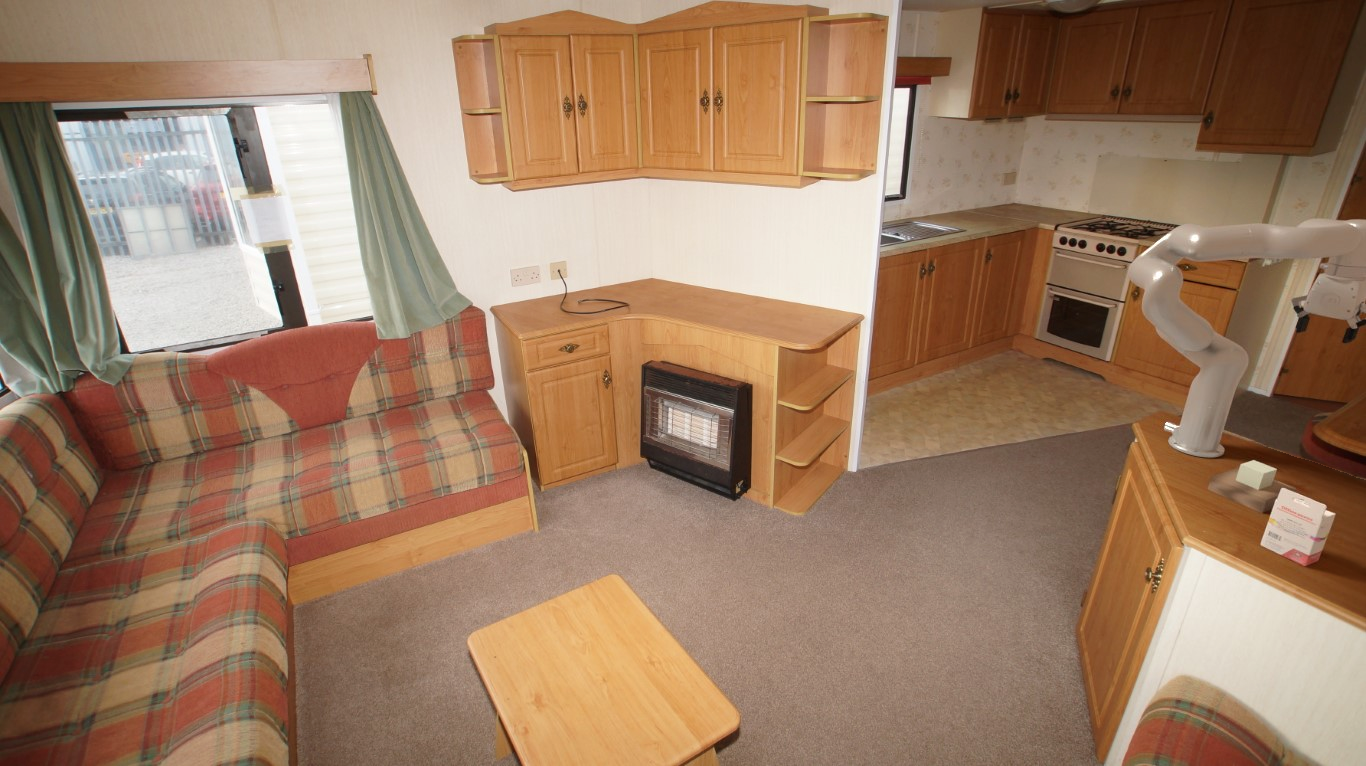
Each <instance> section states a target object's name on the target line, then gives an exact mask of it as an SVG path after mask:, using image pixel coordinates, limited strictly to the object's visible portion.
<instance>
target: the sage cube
mask: <svg viewBox="0 0 1366 766" xmlns="http://www.w3.org/2000/svg"><path fill="white" fill-rule="evenodd" d="M1239 467H1240V468H1239V471H1238V474H1237V477H1236V481H1238V482H1241V483H1243V484H1246V485H1248V486H1250V487H1253V488H1255V489H1257V490H1260V489H1262V488H1265V487H1268V486H1271V485H1272V482H1273V480H1275V477H1276V474H1277V470H1278V469H1277V468H1275V467H1273V466H1271V465H1267V464H1265V463H1263V462H1260V461H1257V460H1255V459H1253V460H1250V461H1246V462H1243V463H1241V464H1240V465H1239Z"/></svg>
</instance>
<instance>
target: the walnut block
mask: <svg viewBox="0 0 1366 766" xmlns="http://www.w3.org/2000/svg"><path fill="white" fill-rule="evenodd" d="M1239 468H1240V466H1238V467H1236V468H1232V469H1229V470H1227V471H1223V472H1222V473H1218V474H1216V475H1213V476H1210V479H1209V484H1208V486H1207V490H1208V491H1211V492H1213V493H1215V494H1217V495H1220V496H1222V497H1224V498H1225V499H1229V500H1231V501H1233V502H1235V503H1237V504H1240V505H1242V506H1245V507H1246V508H1248V509H1252V510H1253V511H1256V512H1258V513H1261V514H1264V513H1266V512H1269V511H1272V509H1273V506H1274V503H1275V500H1276V499H1277V498H1278V496H1279V493H1280V490H1281V489H1282V488H1285V489H1288V490H1290V491H1292V492H1295V493H1297V492H1296V491H1297V488H1296V487H1294V486H1291V485H1289V484H1286V483H1284V482H1282V481H1278V480H1276V479H1274V480H1273V482H1272V485H1271V486H1268V487H1265V488H1262V489H1260V490H1257V489H1255V488H1253V487H1250V486H1248V485H1246V484H1243V483H1241V482H1238V481H1236V477H1237V474H1238V471H1239Z"/></svg>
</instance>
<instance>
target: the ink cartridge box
mask: <svg viewBox="0 0 1366 766" xmlns="http://www.w3.org/2000/svg"><path fill="white" fill-rule="evenodd" d="M1335 517H1336V513H1335V512H1332V511H1329V510H1327V505H1326V504H1324V503H1321V502H1319V501H1316V500H1314V499H1312V498H1310V497H1308V496H1305V495H1302V494H1300V493H1298V492H1292V491H1290V490H1288V489H1285V488H1282V489H1281V490H1280V493H1279V496H1278V498H1277V499H1276V500H1275V503H1274V506H1273V509H1271V512H1270V516H1269V519H1268V521H1267V524H1266V526H1265V527H1266V528H1265V530H1264V532H1263V536H1262V538H1261V541H1260V546H1261V547H1263V548H1266V549H1268V550H1269V551H1271V552H1273V553H1275V554H1278V555H1279V556H1282V557H1284V558H1286V559H1288V560H1290V561H1292V562H1295V563H1296V564H1298V565H1301V566H1303V567H1308V566H1310V565H1311V564H1314V563H1316V562H1318V561H1319V560H1320V557H1321V554H1322V553H1323V549H1324V547H1325V544H1326V542H1327V538H1328V536H1329V534H1330V532H1331V528H1332V526H1333V523H1334V521H1335Z"/></svg>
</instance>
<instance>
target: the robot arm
mask: <svg viewBox="0 0 1366 766" xmlns="http://www.w3.org/2000/svg"><path fill="white" fill-rule="evenodd" d="M1323 258H1325V259H1326V258H1328V261H1327V262H1325V263H1324V262H1321V263H1320V264H1319V269H1322V270H1323V273H1319V274H1318V276H1317V277H1316V278H1315V281H1314V283H1313V284H1312V286H1311V287H1310V290H1309V292H1308V294H1306V295H1302V296H1301V295H1300V296H1298V297H1293V298H1292V299H1291V303H1292V306H1293V311H1294V312H1295V313H1296V315H1297V318H1298V319H1297V322H1296V325H1295V329H1296V330H1295V332H1296V333H1297V334H1300V333H1304V332H1306V331H1307V329H1308V325H1309V324H1310V323H1309V322H1310V319H1311V316H1310V315H1312V314H1313V315H1318V316H1322V317H1327V318H1333V319H1337V320H1343V321H1347V322H1346V323H1348V325H1349V327H1347V328H1346V329H1345V332H1344V335H1343V338H1342V340H1341V343H1343V344H1349V343H1351V342H1353V341H1355V340H1356V338H1357V335H1358V332H1359V330H1360V328H1362V327H1364V326H1366V317H1365V318H1364V319H1360V316H1361V315H1362V313H1364V314H1366V219H1361V218H1358V219H1348V220H1342V219H1341V220H1340V219H1331V218H1322V217H1321V218H1319V217H1318V218H1317V217H1316V218H1315V217H1314V218H1311V219H1307V220H1305V221H1303V222H1300V223H1299V224H1298V225H1297V226H1286V225H1285V226H1284V225H1278V224H1272V223H1271V224H1270V223H1257V222H1256V223H1246V224H1245V223H1243V224H1242V223H1241V224H1233V225H1220V226H1202V225H1200V224H1196V223H1184V224H1181V225H1178V226H1177V227H1175V228H1174V229H1172V230H1170V231H1169V232H1168V233H1166V234H1165V235H1163V236H1162V237H1161V238H1160V239H1158V240H1157V241H1156V242H1155V243H1154V244H1152V245H1150V246H1149V247H1148V248H1147V249H1145V251H1142V253H1141V254H1140V255H1138V256H1136V258H1135V259H1134V260H1133V261H1132V262H1131V263H1130V265H1129V267H1128V270H1127V275H1128V279H1129V280H1130V282H1132V284H1134V285H1135V286H1137V287H1139V288H1141V289H1142V290H1144V292H1143V296H1142V299H1141V311H1142V314H1143V316H1144V317H1145V319H1146V320H1147V321H1149V322H1150V323H1151V325H1153V326H1154V327H1155V332H1156V333H1157V334H1158V336H1159V337H1160V338H1161V339H1162V340H1163V341H1165V342H1166V343H1167V344H1168V345H1170V347H1172V348H1173V349H1175V350H1176V351H1177V352H1178V353H1179V354H1181V355H1182V356H1183V357H1185V358H1186V359H1188V360H1189V361H1190V362H1192V363H1193V364H1195V365H1196V366H1197V367H1199V368H1200V369H1199V370H1200V371H1199V372H1198V373H1197V374H1196V376H1195V377H1194V379H1193V380H1192V382H1191V385H1190V387H1189V391H1188V394H1187V397H1186V401H1185V404H1184V409H1183V413H1182V416H1181V420H1180V423H1179V424H1176V423H1174V422H1171V421H1166V423H1165V424H1164V428H1163V429H1164V431H1165V432H1169V433H1171V435H1170V436H1169V438H1168V444H1169V446H1170V447H1172V448H1173V449H1174V450H1177V451H1179V452H1182V453H1184V454H1187V455H1191V456H1194V457H1195V456H1196V457H1200V458H1218V457H1221V456H1223V455H1224V454H1225V447H1224V446H1223V445H1222V444H1221V443H1220V441H1221V439H1222V435H1223V432H1224V429H1225V425H1226V422H1227V419H1228V416H1229V413H1230V410H1231V406H1232V404H1233V399H1234V396H1235V393H1236V390H1237V387H1238V386H1239V385H1238V384H1239V383H1240V380H1241V379H1242V378H1243V376H1244V374H1245V372H1246V370H1247V369H1248V365H1249V362H1250V361H1249V355H1248V353H1247V351H1246V350H1245V348H1243V347H1242V346H1241V345H1239V344H1238V343H1236V342H1235V341H1232V340H1231V339H1229V338H1227V337H1225V336H1223V335H1222V334H1219V333H1218V332H1216V331H1215V330H1214V328H1213V327H1212V324H1211V323H1210V322H1209V321H1208V320H1207V319H1205V318H1204V317H1202V316H1201V315H1200V314H1198V313H1196V312H1195V311H1194V310H1193V309H1191V308H1190V307H1189V306H1188V305H1187V304H1186V303H1185V302H1183V301H1182V299H1181V298H1180V294H1181V289H1182V287H1183V282H1184V276H1183V272H1182V270H1181V269H1180V268H1179V267H1178V266H1177V264H1179V263H1180V262H1181V261H1182V260H1183V259H1186V260H1189V261H1191V262H1199V263H1202V262H1205V263H1206V262H1215V261H1216V262H1217V261H1229V260H1231V261H1233V260H1243V259H1245V260H1246V259H1267V260H1268V259H1269V260H1272V259H1275V260H1276V259H1278V260H1279V259H1285V260H1286V259H1288V260H1289V259H1291V260H1293V259H1294V260H1295V259H1296V260H1300V259H1303V260H1304V259H1305V260H1306V259H1307V260H1309V259H1323ZM1304 301H1305V302H1304ZM1302 302H1304V305H1302Z"/></svg>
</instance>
